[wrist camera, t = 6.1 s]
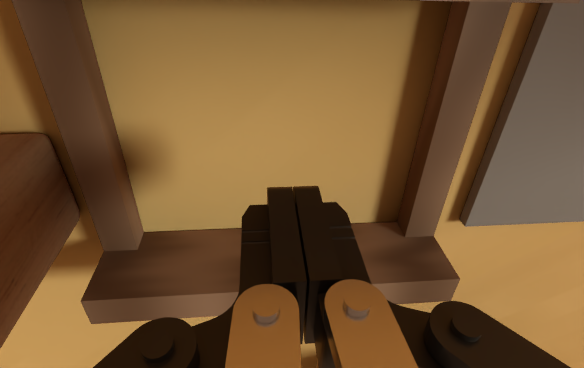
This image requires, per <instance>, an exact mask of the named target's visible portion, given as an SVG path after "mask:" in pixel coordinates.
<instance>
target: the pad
mask: <svg viewBox="0 0 584 368" xmlns="http://www.w3.org/2000/svg"><path fill="white" fill-rule="evenodd" d="M460 221H461V222H462V223H463V225H464V226H465V227H466V226H489V225H512V224H534V223H557V222H580V221H584V0H580V1H579V4H577V3H541V5H540V7H539V10H538V12H537V15H536V18H535V20H534V23H533V26H532V28H531V31H530V34H529V36H528V39H527V42H526V44H525V47H524V50H523V52H522V55H521V58H520V60H519V63H518V66H517V68H516V71H515V73H514V76H513V79H512V81H511V84H510V87H509V89H508V92H507V95H506V97H505V100H504V103H503V105H502V108H501V111H500V113H499V116H498V119H497V121H496V124H495V127H494V129H493V132H492V134H491V137H490V140H489V142H488V145H487V148H486V150H485V153H484V156H483V158H482V161H481V164H480V166H479V169H478V172H477V174H476V177H475V180H474V182H473V185H472V188H471V190H470V193H469V195H468V198H467V201H466V203H465V206H464V209H463V211H462V214H461V217H460Z"/></svg>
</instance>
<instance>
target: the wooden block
mask: <svg viewBox="0 0 584 368" xmlns="http://www.w3.org/2000/svg"><path fill="white" fill-rule="evenodd" d="M79 217H80V211H79V208H78V206H77V204H76V201H75V199H74V196H73V194H72V192H71V189H70V187H69V184H68V182H67V179H66V177H65V175H64V172H63V170H62V167H61V165H60V163H59V160H58V158H57V155H56V153H55V151H54V148H53V146H52V143H51V141H50V139H49V138H48V137H47V136H46V135H45V134H41V133H30V134H0V348H1V347H2V345H3V343H4V342H5V340H6V339H7V337H8V335H9V334H10V332H11V330H12V329H13V327H14V325H15V324H16V322H17V321H18V319H19V317H20V316H21V314H22V312H23V311H24V309H25V308H26V306H27V304H28V303H29V301H30V299H31V298H32V296H33V294H34V293H35V291H36V290H37V288H38V286H39V285H40V283H41V281H42V280H43V278H44V276H45V275H46V273H47V271H48V270H49V268H50V267H51V265H52V263H53V262H54V260H55V258H56V257H57V255H58V253H59V252H60V250H61V248H62V247H63V245H64V244H65V242H66V240H67V239H68V237H69V235H70V234H71V232H72V230H73V229H74V227H75V225H76V224H77V222H78V221H79Z"/></svg>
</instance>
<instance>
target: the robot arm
mask: <svg viewBox="0 0 584 368" xmlns="http://www.w3.org/2000/svg"><path fill="white" fill-rule="evenodd" d="M303 333H304V341H305V344H307V343H315V346H316V353H317V367H316V368H570V367H569V366H567V365H566V364H564V363H563V362H561V361H559V360H558V359H556V358H555V357H553V356H552V355H550V354H548V353H547V352H545V351H544V350H542V349H541V348H539V347H537V346H536V345H534V344H533V343H531V342H530V341H528V340H526V339H525V338H523V337H522V336H520V335H518V334H517V333H515V332H514V331H512V330H511V329H509V328H507V327H506V326H504V325H503V324H501V323H500V322H498V321H496V320H495V319H493V318H492V317H490V316H489V315H487V314H485V313H484V312H482V311H481V310H479V309H477V308H475V307H474V306H471V305H469V304H466V303H463V302H458V301H447V302H443V303H440V304H438V305H437V306H436V307H434V309H433V310H432V312H431V313H428V312H423V311H419V310H415V309H410V308H406V307H402V306H399V305H396V304H394V303H392V302H390V301H388V300H387V299H386V298H385V296H384V295H383V293H382V292H381V291H380V290H379V289H377V288H376V287H375V286H373V285H372V283H371V281H370V278H369V276H368V273H367V270H366V267H365V264H364V261H363V258H362V255H361V252H360V249H359V247H358V244H357V241H356V239H355V235H354V232H353V229H352V228H351V223H350V221H349V218H348V215H347V213H346V212H345V211H344V210H343V209H342V208H341V207H340V206H339V205H338V204H337V203H336V202H326V203H323V202H322V198H321V195H320V191H319V187H318V186H300V187H293V191H292V187H270V188H267V205H250V206H249V207H248V209H247V210H246V212H245V213H244V215H243V216H242V233H241V258H240V285H239V293H238V296H237V298H236V300H235V302H234V303H233V304H232V306H231V307H230V308H229V309H228V310H227V311H225V312H224V313H223V314H221V315H220V316H218V317H216V318H214V319H211V320H209V321H206V322H203V323H200V324H198V325H195V326H192V327H191V326H190V325H189V324H188V323H187V322H185V321H183V320H181V319H178V318H173V317H164V318H158V319H155V320H152V321H150V322H147V323H145V324H144V325H142V326H140V327H139V328H138V329H136V330H135V331H134V332H133V333H132V334H131V335H129V336H128V337H127V338H126V339H125V340H124V341H123V342H122V343H120V344H119V345H118V346H117V347H116V348H115V349H114V350H112V351H111V352H110V353H109V354H108V355H107V356H106V357H104V358H103V359H102V360H101V361H100V362H99V363H98V364H97V365H95V366H94V367H93V368H301V348H300V344H302V341H303Z"/></svg>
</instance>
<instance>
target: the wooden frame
mask: <svg viewBox="0 0 584 368" xmlns="http://www.w3.org/2000/svg"><path fill="white" fill-rule="evenodd" d="M422 1H452V5H451V9H450V13H449V17H448V21H447V25H446V29H445V33H444V37H443V41H442V45H441V49H440V53H439V57H438V60H437V64H436V68H435V72H434V76H433V80H432V84H431V88H430V92H429V96H428V100H427V104H426V108H425V112H424V116H423V120H422V124H421V128H420V132H419V136H418V140H417V144H416V148H415V152H414V156H413V160H412V164H411V168H410V172H409V176H408V180H407V184H406V188H405V192H404V196H403V200H402V204H401V208H400V212H399V216H398V220H397V222H382V223H358V224H351V228H352V229H353V232H354V235H355V239H356V241H357V244H358V247H359V249H360V252H361V255H362V258H363V261H364V264H365V267H366V270H367V273H368V276H369V278H370V281H371V283H372V285H373V286H375V287H376V288H377V289H379V290H380V291H381V292H382V293H383V295H384V296H385V298H386V299H387V300H388V301H390V302H392V303H394V304H408V303H424V302H439V301H451V299H452V297H453V294H454V292H455V290H456V287H457V285H458V283H459V280H460V278H459V276H458V275H457V273H456V272H455V270H454V268H453V267H452V265H451V263H450V262H449V260H448V259H447V257H446V255H445V254H444V252H443V251H442V249H441V247H440V246H439V244H438V242H437V241H436V239H435V238H434V233H435V230H436V227H437V224H438V221H439V218H440V215H441V212H442V209H443V206H444V203H445V200H446V197H447V194H448V191H449V188H450V185H451V182H452V179H453V176H454V173H455V170H456V167H457V164H458V161H459V158H460V155H461V152H462V150H463V147H464V144H465V141H466V138H467V135H468V132H469V129H470V126H471V123H472V120H473V117H474V114H475V111H476V108H477V105H478V102H479V99H480V96H481V93H482V90H483V87H484V84H485V81H486V78H487V75H488V72H489V69H490V66H491V63H492V60H493V57H494V54H495V51H496V48H497V45H498V42H499V39H500V36H501V33H502V30H503V27H504V24H505V21H506V18H507V15H508V12H509V9H510V6H511V3H512V2H525V3H577V4H579V1H580V0H422ZM12 3H13V5H14V8H15V11H16V13H17V16H18V19H19V22H20V24H21V27H22V30H23V32H24V35H25V38H26V41H27V43H28V46H29V49H30V51H31V54H32V57H33V60H34V62H35V65H36V68H37V71H38V73H39V76H40V79H41V81H42V84H43V87H44V90H45V92H46V95H47V98H48V100H49V103H50V106H51V109H52V111H53V114H54V117H55V119H56V122H57V125H58V128H59V130H60V133H61V136H62V138H63V141H64V144H65V147H66V149H67V152H68V155H69V157H70V160H71V163H72V166H73V168H74V171H75V174H76V176H77V179H78V182H79V185H80V187H81V190H82V193H83V195H84V198H85V201H86V204H87V206H88V209H89V212H90V214H91V217H92V220H93V223H94V225H95V228H96V231H97V233H98V236H99V239H100V242H101V244H102V247H103V250H104V252H103V255H102V257H101V259H100V261H99V263H98V265H97V267H96V270H95V272H94V274H93V276H92V278H91V280H90V282H89V284H88V287H87V289H86V291H85V293H84V295H83V297H82V299H81V303H82V305H83V307H84V310H85V312H86V314H87V316H88V318H89V320H90V322H91V324H100V323H115V322H131V321H146V320H155V319H158V318H164V317H173V318H192V317H208V316H220V315H221V314H223V313H224V312H225V311H227V310H228V309H229V308H230V307H231V306H232V304H233V303H234V302H235V300H236V298H237V296H238V293H239V285H240V258H241V233H242V228H240V229H216V230H192V231H168V232H143V228H142V224H141V221H140V217H139V213H138V210H137V206H136V202H135V198H134V195H133V191H132V187H131V184H130V180H129V176H128V173H127V169H126V165H125V162H124V158H123V154H122V150H121V147H120V143H119V139H118V136H117V132H116V128H115V125H114V121H113V117H112V114H111V110H110V106H109V103H108V99H107V95H106V91H105V88H104V84H103V80H102V77H101V73H100V69H99V66H98V62H97V58H96V55H95V51H94V47H93V43H92V40H91V36H90V32H89V29H88V25H87V21H86V18H85V14H84V10H83V7H82V3H81V0H12Z"/></svg>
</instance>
